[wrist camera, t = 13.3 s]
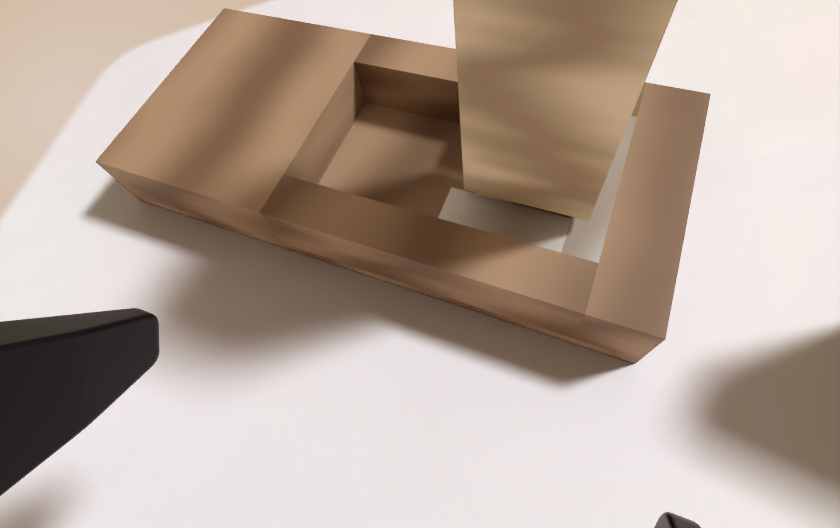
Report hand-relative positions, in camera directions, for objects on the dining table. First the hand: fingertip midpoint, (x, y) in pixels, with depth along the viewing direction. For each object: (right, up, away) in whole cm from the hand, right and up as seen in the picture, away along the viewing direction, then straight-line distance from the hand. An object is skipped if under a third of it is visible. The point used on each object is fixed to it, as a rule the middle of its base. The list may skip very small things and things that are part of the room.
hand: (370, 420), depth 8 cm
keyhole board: (0, +7, +15) cm, 16 cm away
